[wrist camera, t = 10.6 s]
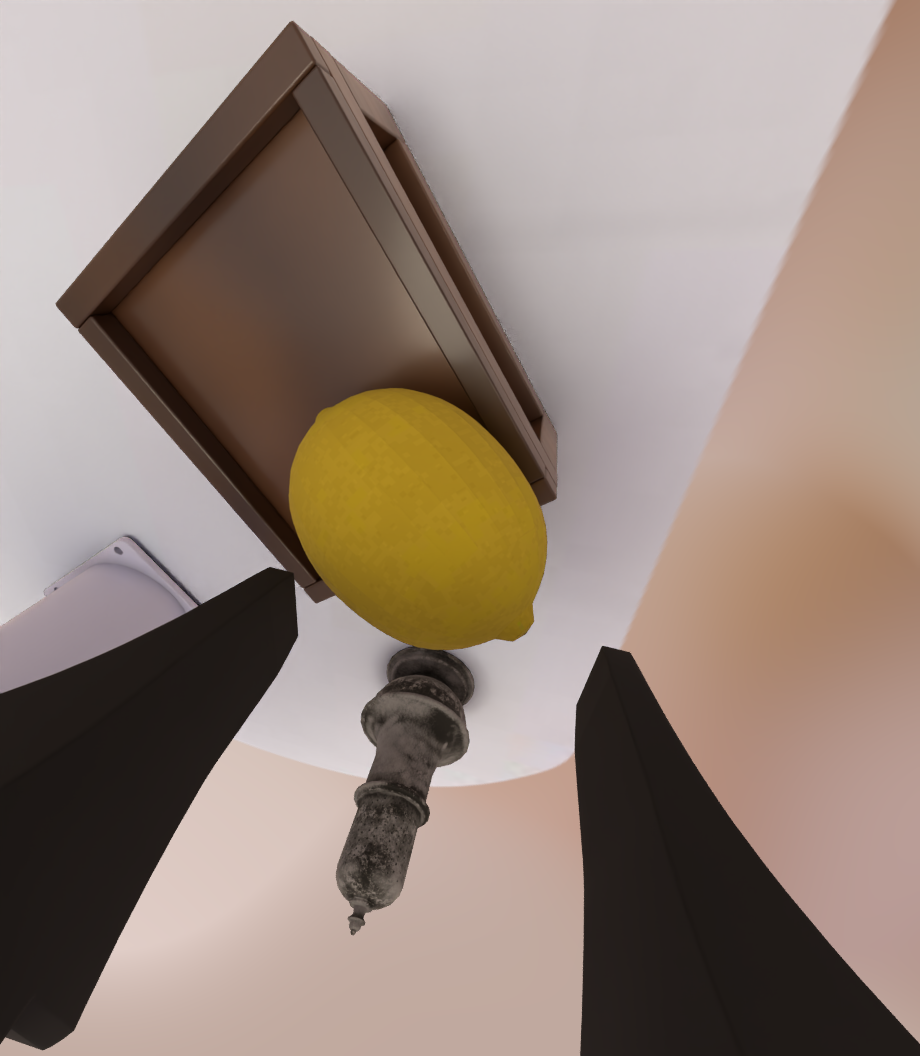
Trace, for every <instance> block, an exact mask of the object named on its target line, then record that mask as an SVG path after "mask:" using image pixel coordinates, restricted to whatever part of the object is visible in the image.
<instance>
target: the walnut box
mask: <svg viewBox="0 0 920 1056" xmlns="http://www.w3.org/2000/svg"><path fill="white" fill-rule="evenodd" d="M56 306H57V308H58V309H59V310H60V311H61V312H62V313H63V314H64V316H65V317H66V318H67V319H68V320H69V321H70V322H71V324H72V325H73V326H74V327H75V328H79V329H78V331H79V333H80V334H81V335H82V336H83V337H84V338H85V340H86V341H87V342H88V343H89V344H90V345H91V346H92V348H93V349H94V350H95V351H96V352H97V353H98V354H99V356H100V357H101V358H102V359H103V360H104V361H105V362H106V364H107V365H108V366H109V367H110V368H111V369H112V371H113V372H114V373H115V374H116V375H117V376H118V377H119V379H120V380H121V381H122V382H123V383H124V384H125V385H126V387H127V388H128V389H129V390H130V391H131V392H132V393H133V395H134V396H135V397H136V398H137V399H138V400H139V402H140V403H141V404H142V405H143V406H144V407H145V408H146V410H147V411H148V412H149V413H150V414H151V415H152V416H153V418H154V419H155V420H156V421H157V422H158V423H159V424H160V426H161V427H162V428H163V429H164V430H165V431H166V433H167V434H168V435H169V436H170V437H171V438H172V439H173V441H174V442H175V443H176V444H177V445H178V446H179V447H180V449H181V450H182V451H183V452H184V453H185V454H186V455H187V457H188V458H189V459H190V460H191V461H192V462H193V464H194V465H195V466H196V467H197V468H198V469H199V470H200V472H201V473H202V474H203V475H204V476H205V477H206V478H207V480H208V481H209V482H210V483H211V484H212V485H213V486H214V488H215V489H216V490H217V491H218V492H219V493H220V495H221V496H222V497H223V498H224V499H225V500H226V501H227V503H228V504H229V505H230V506H231V507H232V508H233V509H234V511H235V512H236V513H237V514H238V515H239V516H240V517H241V519H242V520H243V521H244V522H245V523H246V524H247V525H248V527H249V528H250V529H251V530H252V531H253V532H254V534H255V535H256V536H257V537H258V538H259V539H260V540H261V542H262V543H263V544H264V545H265V546H266V547H267V548H268V550H269V551H270V552H271V553H272V554H273V555H274V556H275V558H276V559H277V560H278V561H279V562H280V563H281V565H282V566H283V567H284V568H285V569H286V570H287V571H288V572H292V573H294V579H295V581H296V582H297V583H298V584H299V585H300V586H301V587H302V588H304V587H305V588H304V591H305V592H306V593H307V594H308V595H309V597H310V598H311V599H312V600H313V601H314V602H315V603H319V602H321V601H323V600H326V599H328V598H330V597H332V596H335V594H334V592H333V591H332V590H331V589H330V588H329V587H328V586H327V585H326V584H325V582H324V581H323V580H322V578H321V577H320V576H319V574H318V573H317V572H316V570H315V568H314V567H313V565H312V564H311V562H310V561H309V559H308V557H307V555H306V553H305V551H304V549H303V547H302V545H301V542H300V540H299V537H298V535H297V532H296V529H295V526H294V523H293V520H292V516H291V512H290V506H289V485H290V472H291V467H292V464H293V461H294V458H295V455H296V452H297V449H298V447H299V445H300V443H301V442H302V440H303V438H304V437H305V435H306V434H307V432H308V431H309V429H310V428H311V427H312V425H313V424H314V423H315V420H316V417H317V415H318V414H319V413H320V412H321V411H322V410H323V409H325V408H328V407H333V406H335V405H336V404H338V403H340V402H342V401H344V400H345V399H347V398H349V397H351V396H354V395H357V394H360V393H362V392H365V391H370V390H376V389H387V388H403V389H409V390H414V391H418V392H422V393H426V394H429V395H432V396H435V397H438V398H441V399H443V400H445V401H447V402H449V403H451V404H453V405H454V406H456V407H457V408H459V409H460V410H462V411H464V412H465V413H466V414H468V415H469V416H470V417H472V418H473V419H474V420H476V421H477V422H478V423H479V424H480V425H481V426H482V427H483V428H485V429H486V430H487V431H488V432H489V433H490V434H491V435H492V436H493V437H494V438H495V439H496V440H497V441H498V442H499V444H500V445H501V446H502V447H503V448H504V449H505V450H506V451H507V453H508V454H509V455H510V456H511V458H512V459H513V460H514V462H515V463H516V464H517V466H518V467H519V469H520V470H521V472H522V473H523V475H524V476H525V478H526V480H527V481H528V483H529V484H530V486H531V488H532V490H533V492H534V494H535V496H536V498H537V500H538V503H539V505H540V506H542V505H544V504H546V503H549V502H551V501H553V500H555V499H556V498H557V433H556V431H555V429H554V427H553V425H552V423H551V421H550V419H549V417H548V415H547V413H546V411H545V410H544V408H543V406H542V404H541V402H540V400H539V398H538V396H537V394H536V392H535V390H534V388H533V386H532V384H531V383H530V381H529V379H528V377H527V375H526V373H525V371H524V369H523V367H522V365H521V363H520V361H519V359H518V358H517V356H516V354H515V352H514V350H513V348H512V346H511V344H510V342H509V340H508V338H507V336H506V334H505V333H504V331H503V329H502V327H501V325H500V323H499V321H498V319H497V317H496V315H495V313H494V311H493V309H492V308H491V306H490V304H489V302H488V300H487V298H486V296H485V294H484V292H483V290H482V288H481V286H480V284H479V283H478V281H477V279H476V277H475V275H474V273H473V271H472V269H471V267H470V265H469V263H468V261H467V259H466V258H465V256H464V254H463V252H462V250H461V248H460V246H459V244H458V242H457V240H456V238H455V236H454V234H453V233H452V231H451V229H450V227H449V225H448V223H447V221H446V219H445V217H444V215H443V213H442V211H441V209H440V208H439V206H438V204H437V202H436V200H435V198H434V196H433V194H432V192H431V190H430V188H429V186H428V184H427V183H426V181H425V179H424V177H423V175H422V173H421V171H420V169H419V167H418V165H417V163H416V161H415V159H414V158H413V156H412V154H411V152H410V150H409V148H408V146H407V145H406V144H405V140H404V138H403V137H402V135H401V133H400V131H399V129H398V127H397V125H396V123H395V121H394V119H393V117H392V115H391V113H390V112H389V110H388V108H387V106H386V104H385V103H384V102H383V101H381V100H380V99H379V98H378V97H377V96H376V95H375V94H374V93H373V92H371V91H370V90H369V89H368V88H367V87H366V86H365V85H364V84H363V83H361V82H360V81H359V80H358V79H357V78H356V77H355V76H354V75H353V74H351V73H350V72H349V71H348V70H347V69H346V68H345V67H344V66H343V65H341V64H340V63H339V62H338V61H337V60H336V59H335V58H334V57H333V56H331V54H330V53H329V52H328V51H327V50H326V49H325V48H324V47H322V46H321V45H320V44H319V43H318V42H317V41H316V40H315V39H314V38H312V37H311V36H309V35H308V34H307V33H306V32H305V31H304V30H303V29H302V28H300V27H299V26H298V25H297V24H296V23H295V22H294V21H291V22H289V24H288V25H287V26H286V27H285V28H284V30H283V31H282V32H281V33H280V34H279V36H278V37H277V38H276V39H275V40H274V42H273V43H272V44H271V45H270V46H269V48H268V49H267V50H266V51H265V52H264V54H263V55H262V56H261V57H260V58H259V60H258V61H257V62H256V63H255V64H254V66H253V67H252V68H251V69H250V70H249V72H248V73H247V74H246V75H245V76H244V78H243V79H242V80H241V81H240V82H239V84H238V85H237V86H236V87H235V88H234V90H233V91H232V92H231V93H230V94H229V96H228V97H227V98H226V99H225V100H224V102H223V103H222V104H221V105H220V106H219V108H218V109H217V110H216V111H215V112H214V114H213V115H212V116H211V117H210V118H209V120H208V121H207V122H206V123H205V124H204V126H203V127H202V128H201V129H200V130H199V132H198V133H197V134H196V135H195V137H194V138H193V139H192V140H191V141H190V143H189V144H188V145H187V146H186V147H185V149H184V150H183V151H182V152H181V153H180V155H179V156H178V157H177V158H176V159H175V161H174V162H173V163H172V164H171V165H170V167H169V168H168V169H167V170H166V171H165V173H164V174H163V175H162V176H161V177H160V179H159V180H158V181H157V182H156V183H155V185H154V186H153V187H152V188H151V189H150V191H149V192H148V193H147V194H146V195H145V197H144V198H143V199H142V200H141V201H140V203H139V204H138V205H137V206H136V207H135V209H134V210H133V211H132V212H131V213H130V215H129V216H128V217H127V218H126V219H125V221H124V222H123V223H122V224H121V225H120V227H119V228H118V229H117V230H116V231H115V233H114V234H113V235H112V236H111V237H110V239H109V240H108V241H107V242H106V243H105V245H104V246H103V247H102V248H101V249H100V251H99V252H98V253H97V254H96V256H95V257H94V258H93V259H92V260H91V262H90V263H89V264H88V265H87V266H86V268H85V269H84V270H83V271H82V272H81V274H80V275H79V276H78V277H77V278H76V280H75V281H74V282H73V283H72V284H71V286H70V287H69V288H68V289H67V290H66V292H65V293H64V294H63V295H62V296H61V298H60V299H59V300H58V301H57V302H56Z"/></svg>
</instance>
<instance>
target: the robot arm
mask: <svg viewBox="0 0 920 1056" xmlns="http://www.w3.org/2000/svg"><path fill="white" fill-rule="evenodd" d="M44 595H45V596H46V597H44V598H43V599H41V600H40V601H38V602H37V603H35V604H34V605H32V606H31V607H29V608H28V609H26V610H25V611H23V612H22V613H20V614H19V615H17V616H15V617H14V618H12V619H11V620H9V621H8V622H6V623H5V624H3V625H2V626H0V1044H1V1042H2V1041H3V1040H4V1038H5V1037H6V1038H9V1039H12V1040H15V1041H18V1042H21V1043H23V1044H26V1045H29V1046H32V1047H35V1048H38V1049H41V1050H45V1049H47V1048H49V1047H51V1046H53V1045H55V1044H56V1043H58V1042H59V1041H61V1040H62V1039H64V1038H65V1037H66V1036H68V1035H69V1034H70V1033H72V1032H73V1031H74V1029H75V1027H76V1025H77V1023H78V1021H79V1019H80V1017H81V1014H82V1012H83V1010H84V1008H85V1006H86V1004H87V1002H88V1000H89V998H90V996H91V994H92V992H93V989H94V988H95V986H96V983H97V981H98V979H99V977H100V975H101V973H102V971H103V969H104V967H105V965H106V963H107V961H108V959H109V957H110V955H111V953H112V951H113V949H114V946H115V944H116V943H117V940H118V938H119V936H120V935H121V932H122V931H123V929H124V927H125V925H126V923H127V921H128V919H129V917H130V915H131V913H132V911H133V909H134V907H135V905H136V904H137V902H138V900H139V898H140V896H141V894H142V892H143V890H144V888H145V886H146V884H147V883H148V881H149V879H150V877H151V875H152V873H153V871H154V869H155V868H156V866H157V864H158V862H159V860H160V858H161V857H162V855H163V853H164V851H165V849H166V848H167V846H168V844H169V842H170V840H171V838H172V837H173V834H174V833H175V831H176V829H177V828H178V826H179V824H180V822H181V820H182V819H183V817H184V815H185V814H186V812H187V810H188V808H189V807H190V805H191V803H192V801H193V800H194V798H195V796H196V794H197V793H198V791H199V789H200V788H201V786H202V784H203V782H204V781H205V779H206V778H207V776H208V775H209V773H210V771H211V770H212V768H213V767H214V765H215V764H216V762H217V761H218V759H219V758H220V756H221V755H222V753H223V752H224V751H225V749H226V748H227V746H228V745H229V744H230V742H231V741H232V739H233V738H234V736H235V735H236V734H237V732H238V731H239V729H240V728H241V727H242V725H243V724H244V722H245V721H246V719H247V718H248V717H249V715H250V714H251V712H252V711H253V709H254V708H255V707H256V705H257V704H258V702H259V701H260V699H261V698H262V697H263V695H264V694H265V692H266V691H267V689H268V688H269V686H270V685H271V684H272V682H273V681H274V679H275V678H276V676H277V675H278V673H279V671H280V669H281V667H282V666H283V664H284V662H285V660H286V658H287V657H288V655H289V653H290V651H291V649H292V647H293V645H294V643H295V641H296V639H297V637H298V627H297V612H296V597H295V582H294V573H292V572H288V571H284V570H280V569H275V568H271V567H269V568H267V569H265V570H263V571H261V572H259V573H257V574H255V575H254V576H252V577H250V578H248V579H246V580H245V581H243V582H241V583H239V584H237V585H236V586H234V587H232V588H230V589H229V590H227V591H225V592H223V593H221V594H220V595H218V596H216V597H214V598H212V599H211V600H209V601H207V602H205V603H203V604H201V605H199V606H198V605H197V604H196V603H195V602H194V601H193V600H192V599H191V598H190V597H189V596H188V595H187V594H186V593H185V592H184V591H183V590H182V589H181V588H180V587H179V586H178V585H177V584H176V583H175V582H174V581H173V580H172V579H171V578H170V577H169V576H168V575H167V574H166V573H165V572H164V571H163V570H162V569H161V568H160V567H159V566H158V565H157V564H156V563H155V562H154V561H153V560H152V559H151V558H150V557H149V556H148V555H147V554H146V553H145V552H144V551H143V550H142V549H141V548H140V547H139V546H138V545H137V544H136V543H135V542H134V541H133V540H131V539H130V538H128V537H121V538H120V539H118V540H116V541H115V542H113V543H112V544H111V545H109V546H108V547H106V548H105V549H103V550H102V551H100V552H99V553H97V554H96V555H94V556H93V557H92V558H90V559H89V560H87V561H86V562H84V563H83V564H81V565H80V566H78V567H77V568H76V569H74V570H73V571H71V572H70V573H68V574H67V575H65V576H64V577H62V578H61V579H59V580H58V581H57V582H55V583H54V584H52V585H51V586H49V587H48V588H46V589H45V590H44ZM575 762H576V776H577V790H578V802H579V815H580V829H581V842H582V854H583V871H584V951H583V995H582V1025H581V1051H580V1056H920V1044H919V1043H918V1041H917V1040H916V1039H915V1038H914V1037H913V1036H912V1035H911V1034H910V1033H909V1032H908V1031H907V1030H906V1029H905V1028H904V1026H903V1025H902V1024H901V1023H900V1022H899V1021H898V1020H897V1019H896V1018H895V1016H894V1015H892V1013H891V1012H890V1011H889V1010H888V1009H887V1008H886V1007H885V1005H884V1004H883V1003H882V1002H881V1001H880V1000H879V999H878V998H877V997H876V996H875V995H874V993H873V992H872V991H871V990H870V989H869V988H868V987H867V986H866V985H865V983H864V982H862V980H861V979H860V978H859V977H858V976H857V975H856V973H855V972H854V971H853V970H852V969H851V968H850V967H849V965H848V964H847V963H846V962H845V961H844V960H843V959H842V957H840V955H839V954H838V953H837V952H836V951H835V949H834V948H833V947H832V946H831V945H830V944H829V942H828V941H827V940H826V939H825V938H824V936H823V935H822V934H821V933H820V932H819V930H818V929H817V928H816V927H815V926H814V924H813V923H812V922H811V921H810V920H809V918H808V917H807V916H806V915H805V914H804V912H803V911H802V910H801V909H800V908H799V906H798V905H797V904H796V903H795V902H794V900H793V899H792V898H791V897H790V896H789V894H788V893H787V892H786V891H785V889H784V888H783V887H782V886H781V885H780V883H779V882H778V881H777V879H776V878H775V877H774V876H773V874H772V873H771V872H770V871H769V869H768V868H767V867H766V865H765V864H764V863H763V862H762V860H761V859H760V857H759V856H758V855H757V853H756V852H755V851H754V849H753V848H752V847H751V846H750V844H749V843H748V841H747V840H746V839H745V837H744V836H743V835H742V833H741V832H740V831H739V829H738V828H737V827H736V826H735V824H734V823H733V821H732V820H731V818H730V817H729V816H728V814H727V813H726V811H725V810H724V808H723V807H722V805H721V804H720V802H718V800H717V798H716V796H715V795H714V793H713V792H712V790H711V789H710V788H709V786H708V784H707V783H706V781H705V780H704V779H703V777H702V775H701V774H700V772H699V771H698V769H697V767H696V766H695V764H694V763H693V761H692V759H691V758H690V756H689V755H688V753H687V751H686V750H685V748H684V746H683V745H682V743H681V741H680V740H679V738H678V737H677V735H676V733H675V731H674V730H673V728H672V726H671V725H670V723H669V721H668V719H667V718H666V716H665V714H664V713H663V711H662V709H661V707H660V706H659V704H658V702H657V700H656V698H655V696H654V695H653V693H652V691H651V689H650V687H649V686H648V684H647V682H646V680H645V678H644V676H643V675H642V673H641V671H640V669H639V667H638V666H637V664H636V662H635V660H634V658H633V656H632V655H631V653H630V652H626V651H622V650H618V649H614V648H609V647H605V646H602V647H601V650H600V652H599V654H598V657H597V659H596V661H595V664H594V666H593V668H592V671H591V673H590V675H589V677H588V680H587V682H586V684H585V687H584V689H583V691H582V694H581V696H580V698H579V700H578V703H577V705H576V726H575Z"/></svg>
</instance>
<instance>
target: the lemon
mask: <svg viewBox="0 0 920 1056" xmlns="http://www.w3.org/2000/svg"><path fill="white" fill-rule="evenodd" d="M289 506H290V512H291V516H292V520H293V523H294V526H295V529H296V532H297V535H298V537H299V540H300V542H301V545H302V547H303V549H304V551H305V553H306V555H307V557H308V559H309V561H310V562H311V564H312V565H313V567H314V568H315V570H316V572H317V573H318V574H319V576H320V577H321V578H322V580H323V581H324V582H325V584H326V585H327V586H328V587H329V588H330V589H331V590H332V591H333V592H334V594H335V595H336V596H337V597H338V598H339V599H340V600H342V601H343V602H344V603H345V604H346V605H347V606H348V607H349V608H350V609H352V610H353V611H354V612H355V613H356V614H358V615H359V616H360V617H362V618H363V619H364V620H366V621H367V622H368V623H370V624H371V625H372V626H374V627H376V628H377V629H379V630H380V631H382V632H383V633H385V634H387V635H389V636H391V637H393V638H395V639H397V640H399V641H401V642H403V643H406V644H409V645H412V646H416V647H419V648H426V649H432V650H454V649H463V648H468V647H471V646H475V645H479V644H482V643H485V642H487V641H490V640H493V639H500V640H506V641H512V642H513V641H515V640H516V639H518V638H520V637H521V636H523V635H525V634H526V633H527V631H528V630H529V628H530V627H531V625H532V624H533V622H534V616H533V605H532V603H533V601H534V599H535V596H536V594H537V592H538V589H539V586H540V583H541V580H542V577H543V574H544V569H545V563H546V557H547V534H546V525H545V521H544V517H543V513H542V510H541V507H540V505H539V503H538V500H537V498H536V496H535V494H534V492H533V490H532V488H531V486H530V484H529V483H528V481H527V480H526V478H525V476H524V475H523V473H522V472H521V470H520V469H519V467H518V466H517V464H516V463H515V462H514V460H513V459H512V458H511V456H510V455H509V454H508V453H507V451H506V450H505V449H504V448H503V447H502V446H501V445H500V444H499V442H498V441H497V440H496V439H495V438H494V437H493V436H492V435H491V434H490V433H489V432H488V431H487V430H486V429H485V428H483V427H482V426H481V425H480V424H479V423H478V422H477V421H476V420H474V419H473V418H472V417H470V416H469V415H468V414H466V413H465V412H464V411H462V410H460V409H459V408H457V407H456V406H454V405H453V404H451V403H449V402H447V401H445V400H443V399H441V398H438V397H435V396H432V395H429V394H426V393H422V392H418V391H414V390H409V389H403V388H387V389H376V390H370V391H365V392H362V393H360V394H357V395H354V396H351V397H349V398H347V399H345V400H344V401H342V402H340V403H338V404H336V405H335V406H333V407H328V408H325V409H323V410H322V411H321V412H320V413H319V414H318V415H317V417H316V420H315V423H314V424H313V425H312V427H311V428H310V429H309V431H308V432H307V434H306V435H305V437H304V438H303V440H302V442H301V443H300V445H299V447H298V449H297V452H296V455H295V458H294V461H293V464H292V467H291V472H290V485H289Z"/></svg>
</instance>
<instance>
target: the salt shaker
mask: <svg viewBox="0 0 920 1056" xmlns="http://www.w3.org/2000/svg"><path fill="white" fill-rule="evenodd" d="M387 677H388V681H389V684H387V685H386V686H385V687H384V688H383V689H382V690H381V691H380V692H378V693H377V695H376V697H374V698H373V699H372V700H371V701H369V702H368V703H367V704H366V706H365V707H364V709H363V711H362V713H361V724H362V727H363V731H364V733H365V734H366V736H367V737H368V739H369V740H370V742H371V743H372V744H373V745H374V746H376V747H377V748H376V756H375V759H374V761H373V764H372V767H371V770H370V772H369V775H368V778H367V780H366V783H364V784H362V785H361V786H359V787H358V788H357V790H356V791H355V794H354V800H355V803H356V806H357V807H358V810H357V813H356V816H355V818H354V821H353V824H352V826H351V829H350V832H349V835H348V837H347V840H346V843H345V846H344V848H343V851H342V854H341V857H340V859H339V862H338V865H337V871H336V880H337V885H338V888H339V890H340V891H341V893H342V895H343V896H344V897H345V898H346V899H347V900H348V901H349V903H350V906H351V907H352V908H354V912H353V914H352V915H351V916H350V917H348V920H349V922H350V924H349V928H350V929H351V935H354V934H355V933H356V932H357V931H359V930H360V928H361V926H363V925H365V921H364V919H363V917H364V915H365V913H367V912H371V911H372V910H376V909H381V908H383V907H386V906H389V905H391V904H392V903H393V902H394V901H395V900H396V899H397V897H399V895H400V893H401V891H402V888H403V885H404V881H405V877H406V873H407V868H408V865H409V861H410V857H411V853H412V849H413V844H414V840H415V836H416V832H417V828H419V827H421V826H423V825H424V824H425V823H426V822H427V821H428V818H429V815H430V811H429V807H428V805H427V804H426V799H427V794H428V791H429V787H430V782H431V778H432V775H433V773H434V771H435V769H436V767H441V766H445V765H449V764H452V763H454V762H455V761H457V760H459V759H461V758H462V756H463V755H464V754H465V753H466V752H467V749H468V745H469V733H468V730H467V728H466V720H465V715H464V710H463V705H464V704H466V703H467V702H468V701H469V700H470V698H471V697H472V694H473V691H474V680H473V677H472V675H471V673H470V671H469V669H468V668H467V667H466V666H465V665H464V664H463V663H462V662H461V661H460V660H458V659H457V658H456V657H454V656H453V655H451V654H449V653H447V652H445V651H442V650H432V649H426V648H419V647H411V648H406V649H404V650H402V651H399V652H398V653H397V654H395V655H394V656H393V657H392V658H391V660H390V662H389V664H388V666H387Z"/></svg>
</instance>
